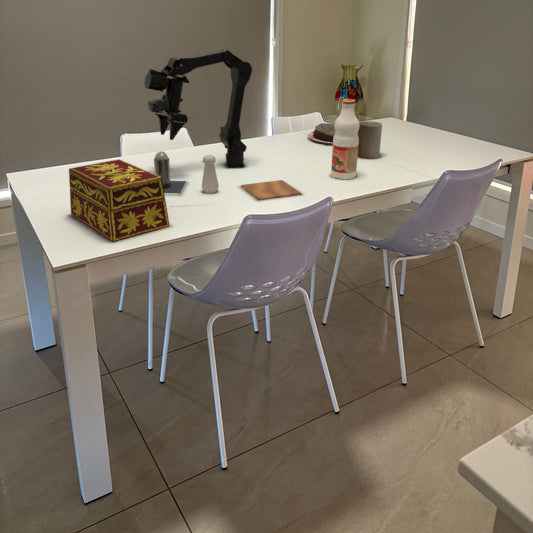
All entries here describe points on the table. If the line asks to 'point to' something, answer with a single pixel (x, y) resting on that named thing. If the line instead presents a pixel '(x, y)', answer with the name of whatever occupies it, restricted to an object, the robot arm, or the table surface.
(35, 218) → the table surface
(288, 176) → the table surface
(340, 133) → the fruit juice
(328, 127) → the chocolate cake
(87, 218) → the decorative box
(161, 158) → the pepper shaker
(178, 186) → the slate mat
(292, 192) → the oak board
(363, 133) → the pillar candle
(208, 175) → the salt shaker
